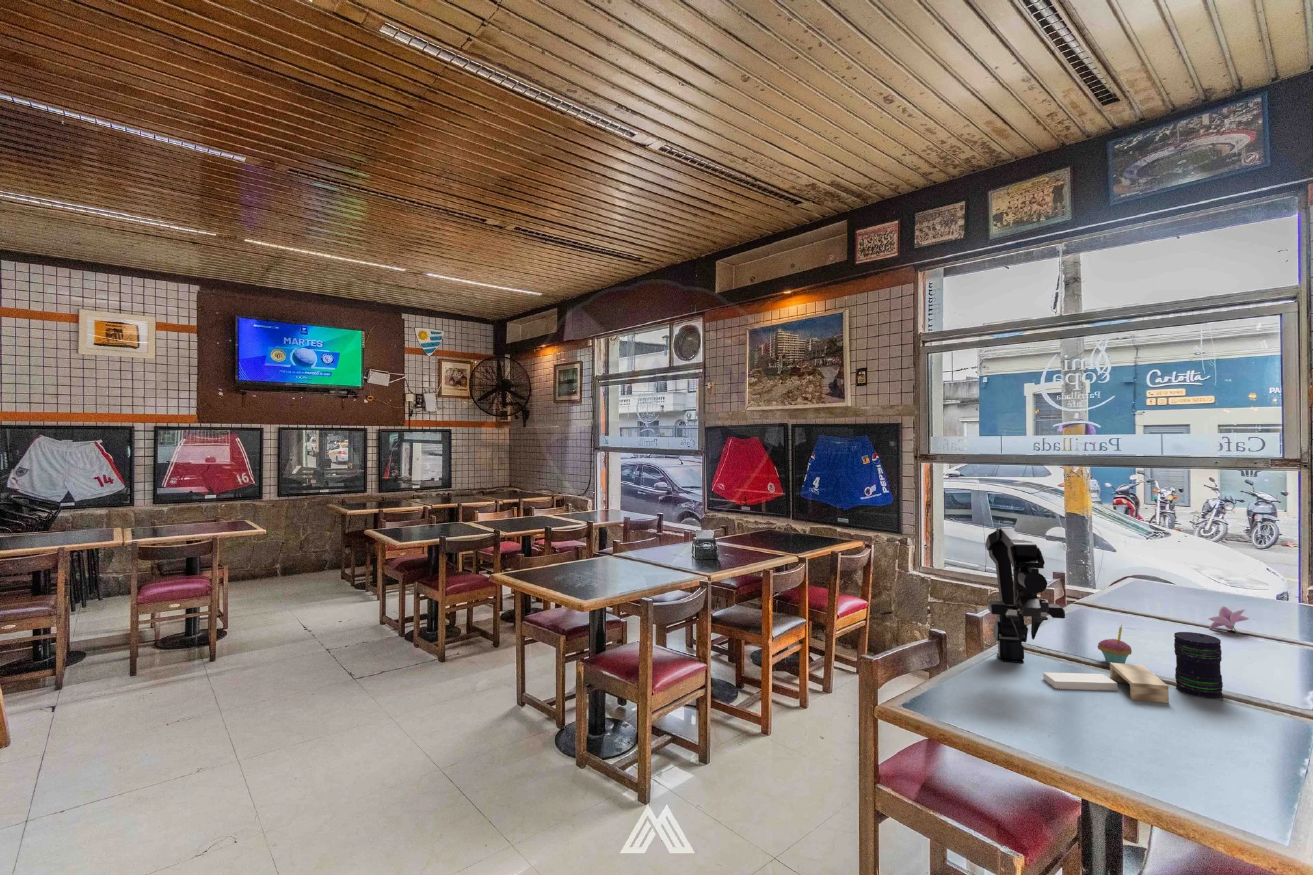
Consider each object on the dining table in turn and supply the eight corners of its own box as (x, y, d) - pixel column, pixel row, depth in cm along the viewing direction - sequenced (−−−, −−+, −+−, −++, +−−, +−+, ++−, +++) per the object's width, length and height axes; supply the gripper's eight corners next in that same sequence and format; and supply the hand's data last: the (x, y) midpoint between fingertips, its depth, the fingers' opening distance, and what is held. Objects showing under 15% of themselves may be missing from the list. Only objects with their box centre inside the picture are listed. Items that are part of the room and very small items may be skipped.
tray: (1055, 690, 173) (1055, 681, 173) (1043, 680, 180) (1043, 672, 180) (1117, 691, 171) (1117, 682, 171) (1102, 682, 178) (1102, 673, 178)
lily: (1257, 637, 217) (1243, 609, 222) (1259, 631, 209) (1244, 603, 214) (1214, 642, 224) (1202, 615, 228) (1214, 636, 216) (1201, 609, 220)
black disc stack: (1212, 701, 163) (1211, 645, 163) (1168, 689, 171) (1166, 635, 172) (1230, 694, 167) (1228, 638, 167) (1185, 682, 176) (1184, 629, 176)
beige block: (1132, 699, 165) (1132, 682, 165) (1110, 677, 180) (1109, 662, 180) (1168, 702, 162) (1168, 685, 163) (1143, 680, 178) (1142, 665, 178)
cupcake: (1126, 659, 195) (1124, 621, 195) (1137, 668, 187) (1135, 629, 187) (1094, 656, 198) (1093, 619, 198) (1103, 665, 190) (1102, 626, 190)
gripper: (994, 589, 176) (995, 644, 176) (1070, 593, 170) (1072, 650, 170) (987, 581, 186) (988, 633, 186) (1058, 584, 180) (1060, 638, 180)
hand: (1026, 638), depth 180 cm, fingers open, 3 cm apart
